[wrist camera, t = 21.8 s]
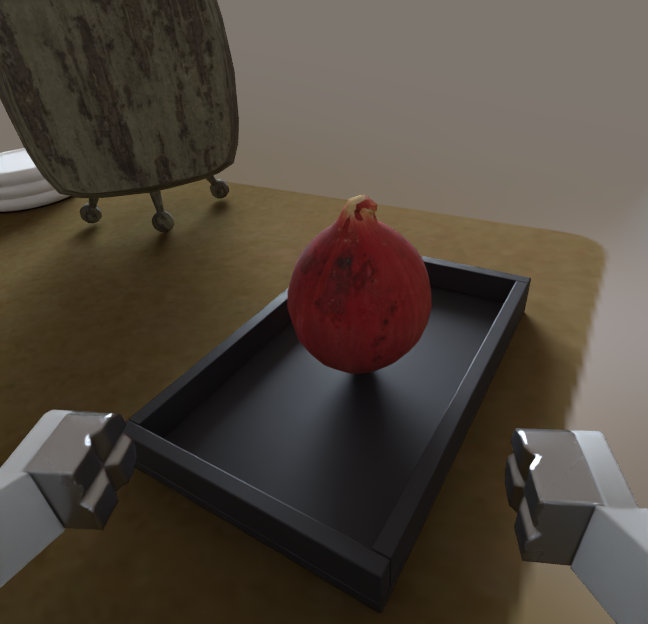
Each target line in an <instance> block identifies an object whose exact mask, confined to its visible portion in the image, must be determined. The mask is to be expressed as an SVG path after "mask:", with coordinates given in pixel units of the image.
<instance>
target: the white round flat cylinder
mask: <svg viewBox="0 0 648 624" xmlns="http://www.w3.org/2000/svg"><path fill="white" fill-rule="evenodd" d="M67 197H69V196H68V195H63V194H59V193H58V192H57V191H56V190H55V189H54V188H53V187H52V186H51V185H50V184H49V183H48V181H47V180H46V179H45V178H44V177H43V176H42V175H41V173H40V172H39V170H38V169H37V167H36V166H35V164H34V163H33V161H32V160H31V158H30V156H29V155H28V153H27V152H26V150H25V148H22V149H17V150H12V151H7V152H3V153H0V212H8V211H18V210H25V209H30V208H35V207H39V206H43V205H47V204H51V203H54V202H57V201H60V200H62V199H65V198H67Z"/></svg>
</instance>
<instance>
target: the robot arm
mask: <svg viewBox="0 0 648 624" xmlns="http://www.w3.org/2000/svg"><path fill="white" fill-rule="evenodd" d="M125 427H126V423H125V421H124V419H123V417H122V415H120V414H115V413H101V412H86V411H66V410H51V411H49V412H47V413H45V414H44V415H43V416H42V418H41V419H40V420H39V421H38V422H37V424H36V425H35V426H34V427H33V429H32V430H31V431H30V432H29V433H28V435H27V436H26V437H25V438H24V440H23V441H22V442H21V443H20V445H19V446H18V447H17V448H16V449H15V451H14V452H13V453H12V454H11V456H10V457H9V458H8V459H7V460H6V462H5V463H4V464H3V465H2V467H1V468H0V588H1V587H2V586H3V585H4V584H5V583H6V582H8V581H9V580H10V579H11V578H12V577H13V576H14V575H15V574H17V573H18V572H19V571H20V570H21V569H22V568H23V567H25V566H26V565H27V564H28V563H29V562H30V561H31V560H32V559H34V558H35V557H36V556H37V555H38V554H39V553H40V552H41V551H43V550H44V549H45V548H46V547H47V546H48V545H49V544H50V543H52V542H53V541H54V540H55V539H56V538H57V537H58V536H59V535H61V534H62V533H63V532H64V531H65V529H64V528H72V529H95V530H103V529H104V527H105V525H106V523H107V522H108V520H109V518H110V516H111V514H112V512H113V510H114V508H115V507H116V505H117V503H118V497H117V491H118V490H119V489H121V488H122V487H123V486H124V485H126V484H127V483H128V482H129V480H130V478H131V476H132V474H133V472H134V468H135V463H136V458H137V456H136V447H135V445H134V442H133V440H132V439H131V438H130V437H129V436H127V435H126V434H125V433H123V431H124V429H125ZM511 444H512V448H513V452H514V453H512V454H511V455H510V456H508V457H507V462H506V468H505V485H506V492H507V498H508V502H509V506H510V507H511V508H512V509H513V510H514V511H515V512H516V513H517V517H516V521H515V525H514V529H515V533H516V537H517V541H518V546H519V550H520V554H521V558H522V561H530V562H541V563H550V564H560V565H570V566H571V569H572V571H573V572H574V573H575V574H576V575H577V577H578V578H579V579H580V580H581V581H582V582H583V584H584V585H585V586H586V587H587V588H588V590H589V591H590V592H591V593H592V595H593V596H594V597H595V598H596V600H597V601H598V602H599V603H600V604H601V606H602V607H603V608H604V609H605V610H606V611H607V613H608V614H609V615H610V617H611V618H612V619H613V620H614V621H615V622H616V624H648V509H645V508H639V506H638V504H637V502H636V500H635V498H634V496H633V494H632V492H631V490H630V488H629V486H628V483H627V482H626V479H625V477H624V475H623V473H622V471H621V469H620V467H619V465H618V463H617V461H616V459H615V457H614V455H613V453H612V450H611V448H610V446H609V444H608V442H607V440H606V438H605V436H604V435H603V434H602V433H601V432H600V431H580V430H571V431H569V430H554V429H518V428H516V429H515V430H514V432H513V435H512V439H511Z"/></svg>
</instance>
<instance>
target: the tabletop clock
mask: <svg viewBox="0 0 648 624" xmlns="http://www.w3.org/2000/svg"><path fill="white" fill-rule="evenodd" d="M0 99H1V101H2V103H3V105H4V107H5V109H6V112H7V114H8V116H9V118H10V119H11V122H12V124H13V125H14V128H15V130H16V132H17V133H18V136H19V138H20V140H21V142H22V144H23V146H24V148H25V150H26V152H27V153H28V155H29V156H30V158H31V160H32V161H33V163H34V164H35V166H36V167H37V169H38V170H39V172H40V173H41V175H42V176H43V177H44V178H45V179H46V180H47V181H48V183H49V184H50V185H51V186H52V187H53V188H54V189H55V190H56V191H57V192H58V193H59V194H63V195H68V196H74V197H79V198H89V203H87V204H85V205H83V207H82V208H81V209H80V214H81V218H82V219H83V220H85V221H86V222H88V223H96V222H98V221H99V220H100V219H101V217H102V214H101V209H100V208H99V207H98V206H97V202H98V199H99V198H105V197H115V196H124V195H133V194H141V193H150V195H151V198H152V200H153V203H154V205H155V208H156V210H157V213H155V215H154V216H153V218H152V223H153V226H154V228H155V229H156V230H158V231H160V232H168V231H170V230H171V229H172V228H173V226H174V219H173V217H172V215H171V214H170V213H168V212H166V211H164V208H163V203H162V198H161V193H160V190H164V189H168V188H172V187H176V186H180V185H184V184H188V183H191V182H195V181H199V180H202V179H207V180H208V181H209V182H210V183H211V186H210V190H211V193H212V195H213V196H214V197H216V198H224V197H226V196H227V194H228V192H229V188H228V185H227V183H226V182H225V181H222V180H216V179H215V177H214V175H215V174H218V173H220V172H221V171H223V170H224V169H225V168H227V167H229V166H230V165H232V164H233V163H234V159H235V155H236V150H237V146H238V132H239V117H238V106H237V95H236V84H235V72H234V67H233V63H232V58H231V54H230V49H229V45H228V40H227V36H226V32H225V27H224V23H223V18H222V15H221V12H220V8H219V6H218V2H217V0H0Z"/></svg>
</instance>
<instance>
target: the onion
mask: <svg viewBox="0 0 648 624" xmlns="http://www.w3.org/2000/svg"><path fill="white" fill-rule="evenodd" d="M376 210H377V204H376V203H375V202H374V201H372V200H371V199H370V198H368V197H367V196H365V195H363V194H361V195H359V196H357V197H353V198H350V199H348V201H347V203H346V205H345V206H344V208H343V210H342V212H341V214H340V216H339V218H338V219H337V221H336V222H335V223H334V224H333V225H331V226H329V227H328V228H326V229H325V230H323V231H322V232H321V233H320V234H318V235H317V236H316V237H314V238H313V239H312V241H311V242H310V243H309V244H308V245H307V246H306V247H305V249H304V250H303V252H302V253H301V254H300V256H299V258H298V260H297V262H296V264H295V267H294V270H293V274H292V277H291V281H290V284H289V288H288V301H287V308H288V311H289V314H290V317H291V320H292V323H293V326H294V329H295V332H296V334H297V337H298V340H299V341H300V343H301V344H302V345H303V346H304V347H305V348H306V350H307V351H308V352H309V353H310V354H311V355H312V356H314V357H315V358H316V359H317V360H318V361H320V362H321V363H322V364H323V365H325V366H328V367H330V368H333V369H336V370H339V371H343V372H346V373H350V374H359V373H371V372H374V371H377V370H379V369H382V368H384V367H387V366H389V365H391V364H393V363H395V362H396V361H398V360H399V359H400V358H401V357H403V356H404V355H405V354H407V353H408V352H409V351H410V350H411V349H412V348H413V347H414V346H415V345H416V344H417V342H418V341H419V340H420V338H421V336H422V334H423V332H424V330H425V328H426V326H427V324H428V320H429V316H430V312H431V308H432V301H431V288H430V282H429V277H428V273H427V270H426V267H425V264H424V261H423V259H422V258H421V256H420V254H419V253H418V251H417V250H416V249H415V248H414V246H413V245H412V244H411V243H410V242H409V241H408V240H407V239H406V238H404V237H403V236H402V235H401V234H400V233H398V232H397V231H395V230H394V229H392V228H391V227H389V226H387V225H386V224H384V223H382V222H380V221H378V220H377V219H376V216H375V211H376Z"/></svg>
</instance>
